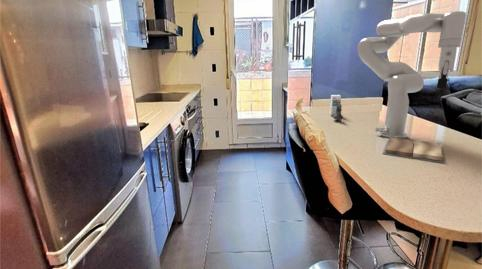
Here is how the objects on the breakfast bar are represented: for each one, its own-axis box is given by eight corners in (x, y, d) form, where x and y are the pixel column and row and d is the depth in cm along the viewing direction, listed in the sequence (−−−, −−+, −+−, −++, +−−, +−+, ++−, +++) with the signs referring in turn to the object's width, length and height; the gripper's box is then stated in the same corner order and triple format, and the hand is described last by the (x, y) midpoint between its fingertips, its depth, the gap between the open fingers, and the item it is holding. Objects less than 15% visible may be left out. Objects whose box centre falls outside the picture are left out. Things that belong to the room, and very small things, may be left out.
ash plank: (412, 156, 117) (413, 153, 116) (413, 143, 133) (414, 140, 132) (441, 160, 111) (442, 156, 111) (439, 146, 128) (440, 143, 127)
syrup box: (330, 116, 192) (332, 95, 188) (329, 114, 198) (330, 94, 194) (339, 116, 191) (341, 95, 187) (337, 115, 197) (339, 94, 193)
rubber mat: (382, 153, 122) (382, 153, 121) (387, 140, 139) (387, 139, 139) (444, 163, 110) (444, 162, 110) (441, 147, 128) (441, 146, 128)
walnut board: (385, 152, 122) (385, 149, 121) (389, 140, 138) (390, 137, 138) (411, 156, 117) (412, 153, 116) (413, 143, 133) (413, 140, 133)
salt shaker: (335, 119, 183) (336, 101, 180) (344, 121, 180) (345, 102, 176) (331, 121, 179) (333, 103, 175) (340, 122, 175) (342, 104, 172)
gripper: (462, 43, 109) (453, 90, 114) (458, 43, 121) (450, 86, 126) (439, 43, 113) (431, 89, 118) (437, 44, 125) (430, 85, 130)
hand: (441, 88), depth 122 cm, fingers closed
